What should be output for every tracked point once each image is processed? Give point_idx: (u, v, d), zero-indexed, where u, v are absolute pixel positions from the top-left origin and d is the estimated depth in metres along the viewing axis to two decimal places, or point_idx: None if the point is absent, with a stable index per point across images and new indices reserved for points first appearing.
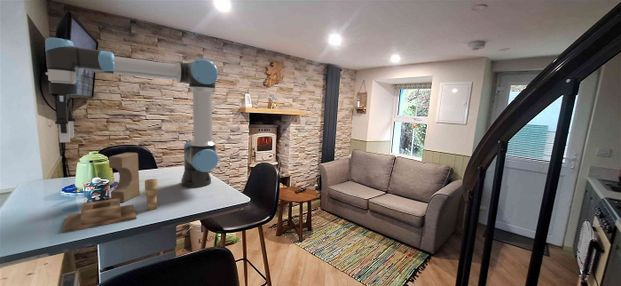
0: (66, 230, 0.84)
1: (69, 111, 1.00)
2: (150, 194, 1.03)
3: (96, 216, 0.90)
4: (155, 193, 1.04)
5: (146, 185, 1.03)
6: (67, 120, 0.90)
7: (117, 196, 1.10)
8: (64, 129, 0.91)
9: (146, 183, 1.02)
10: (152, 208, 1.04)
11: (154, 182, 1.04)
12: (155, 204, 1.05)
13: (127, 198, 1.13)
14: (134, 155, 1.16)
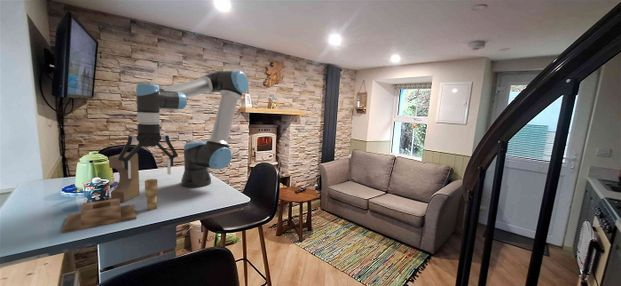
0: (66, 230, 0.84)
1: (161, 149, 1.04)
2: (150, 194, 1.03)
3: (96, 216, 0.90)
4: (155, 193, 1.04)
5: (146, 185, 1.03)
6: (119, 158, 0.96)
7: (117, 196, 1.10)
8: None
9: (146, 183, 1.02)
10: (152, 208, 1.04)
11: (154, 182, 1.04)
12: (155, 204, 1.05)
13: (127, 198, 1.13)
14: (134, 155, 1.16)
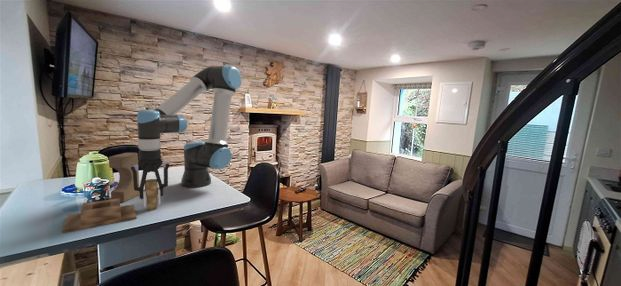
0: (66, 230, 0.84)
1: (156, 176, 1.05)
2: (150, 194, 1.03)
3: (96, 216, 0.90)
4: (155, 193, 1.04)
5: (146, 185, 1.03)
6: (135, 189, 1.00)
7: (117, 196, 1.10)
8: None
9: (146, 183, 1.02)
10: (152, 208, 1.04)
11: (154, 182, 1.04)
12: (155, 204, 1.05)
13: (127, 198, 1.13)
14: (134, 155, 1.16)
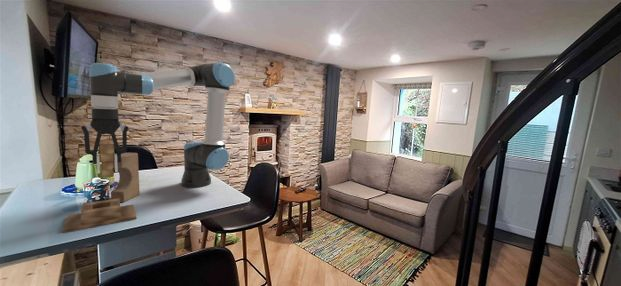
0: (66, 230, 0.84)
1: None
2: (105, 159, 0.92)
3: (96, 216, 0.90)
4: (111, 158, 0.93)
5: (100, 148, 0.91)
6: (86, 152, 0.89)
7: (117, 196, 1.10)
8: None
9: (100, 146, 0.91)
10: (107, 175, 0.93)
11: (110, 146, 0.92)
12: (111, 171, 0.94)
13: (127, 198, 1.13)
14: (134, 155, 1.16)
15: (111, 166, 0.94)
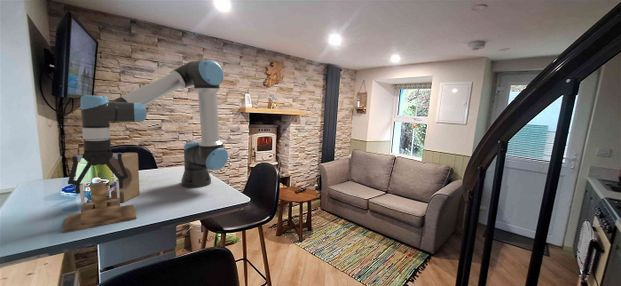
0: (66, 230, 0.84)
1: (110, 169, 0.94)
2: (97, 200, 0.92)
3: (96, 216, 0.90)
4: (103, 198, 0.93)
5: (91, 190, 0.91)
6: (69, 182, 0.87)
7: None
8: None
9: (91, 188, 0.91)
10: None
11: (101, 186, 0.92)
12: None
13: (127, 198, 1.13)
14: (134, 155, 1.16)
15: (104, 206, 0.94)
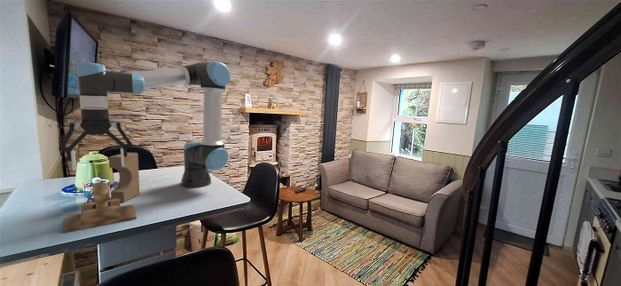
0: (66, 230, 0.84)
1: None
2: (99, 199, 0.92)
3: (96, 216, 0.90)
4: (105, 198, 0.94)
5: (94, 189, 0.92)
6: (60, 148, 0.85)
7: (117, 196, 1.10)
8: None
9: (94, 187, 0.92)
10: None
11: (103, 186, 0.93)
12: None
13: (127, 198, 1.13)
14: (134, 155, 1.16)
15: (105, 206, 0.95)
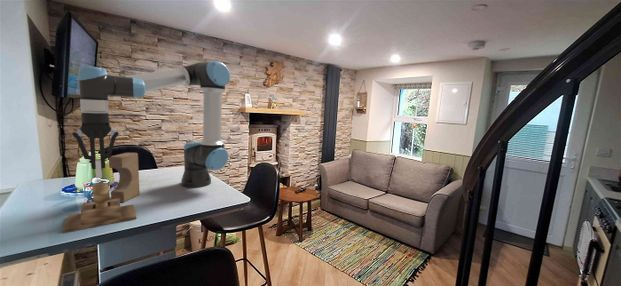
0: (66, 230, 0.84)
1: None
2: (98, 200, 0.92)
3: (96, 216, 0.90)
4: (105, 198, 0.94)
5: (94, 190, 0.92)
6: (85, 157, 0.89)
7: (117, 196, 1.10)
8: None
9: (94, 187, 0.92)
10: None
11: (103, 186, 0.93)
12: None
13: (127, 198, 1.13)
14: (134, 155, 1.16)
15: (105, 206, 0.94)
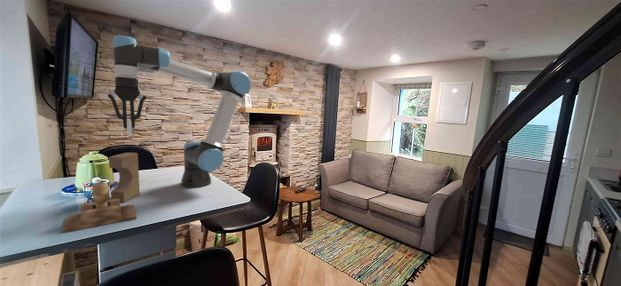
0: (66, 230, 0.84)
1: (130, 106, 1.04)
2: (98, 200, 0.92)
3: (96, 216, 0.90)
4: (105, 198, 0.94)
5: (94, 190, 0.92)
6: (118, 117, 1.01)
7: (117, 196, 1.10)
8: None
9: (93, 187, 0.92)
10: None
11: (103, 186, 0.93)
12: None
13: (127, 198, 1.13)
14: (134, 155, 1.16)
15: (105, 206, 0.94)
